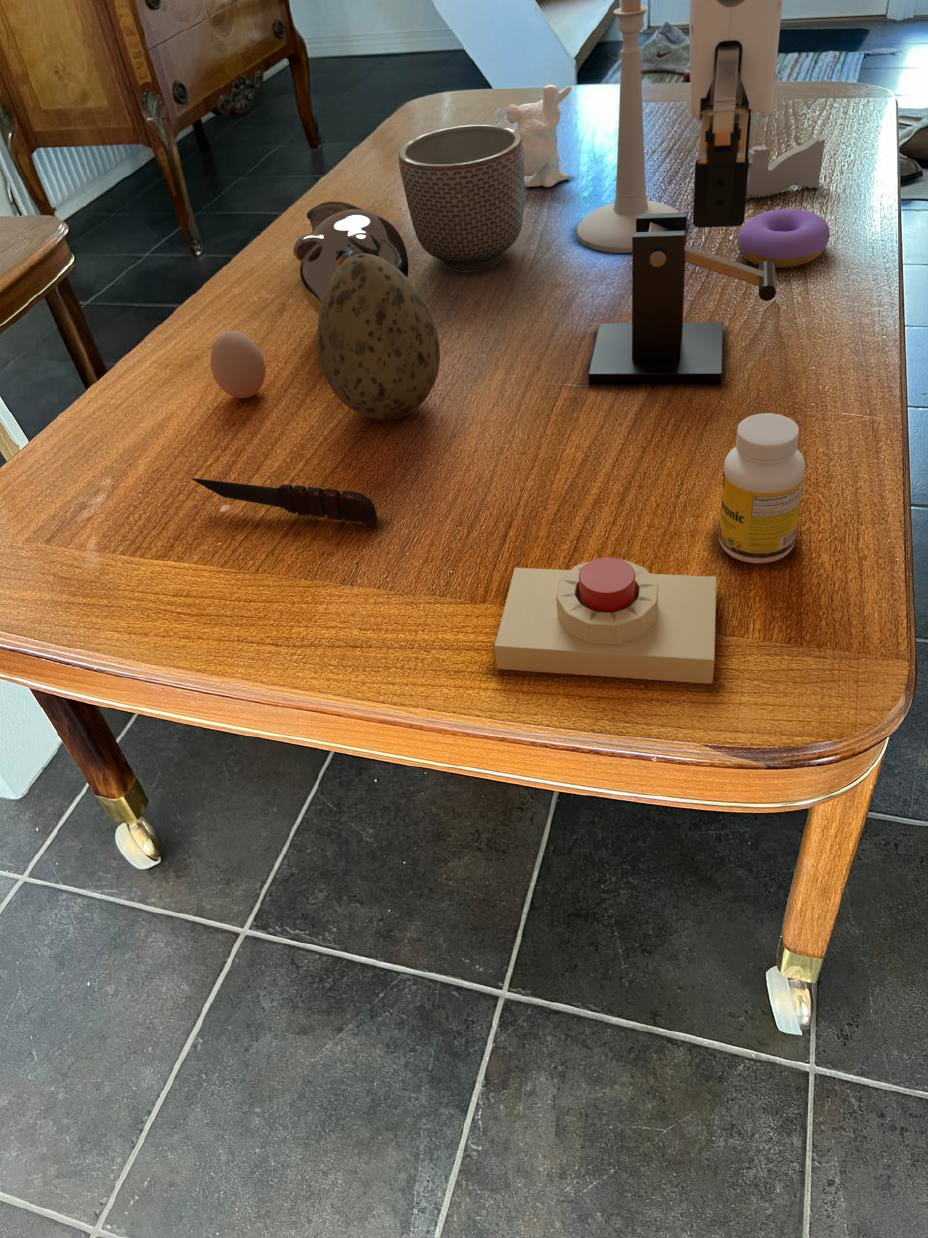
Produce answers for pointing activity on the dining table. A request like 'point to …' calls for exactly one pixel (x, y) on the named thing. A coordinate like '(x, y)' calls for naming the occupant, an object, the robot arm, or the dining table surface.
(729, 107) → the robot arm
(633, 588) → the button
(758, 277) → the lever
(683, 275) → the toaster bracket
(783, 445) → the supplement bottle
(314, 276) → the piggy bank
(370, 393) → the decorative egg
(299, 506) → the knife
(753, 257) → the donut
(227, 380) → the egg
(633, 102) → the candlestick
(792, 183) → the grey flat notched piece
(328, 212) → the seashell
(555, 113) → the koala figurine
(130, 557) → the dining table surface
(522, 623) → the power block
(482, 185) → the planter
